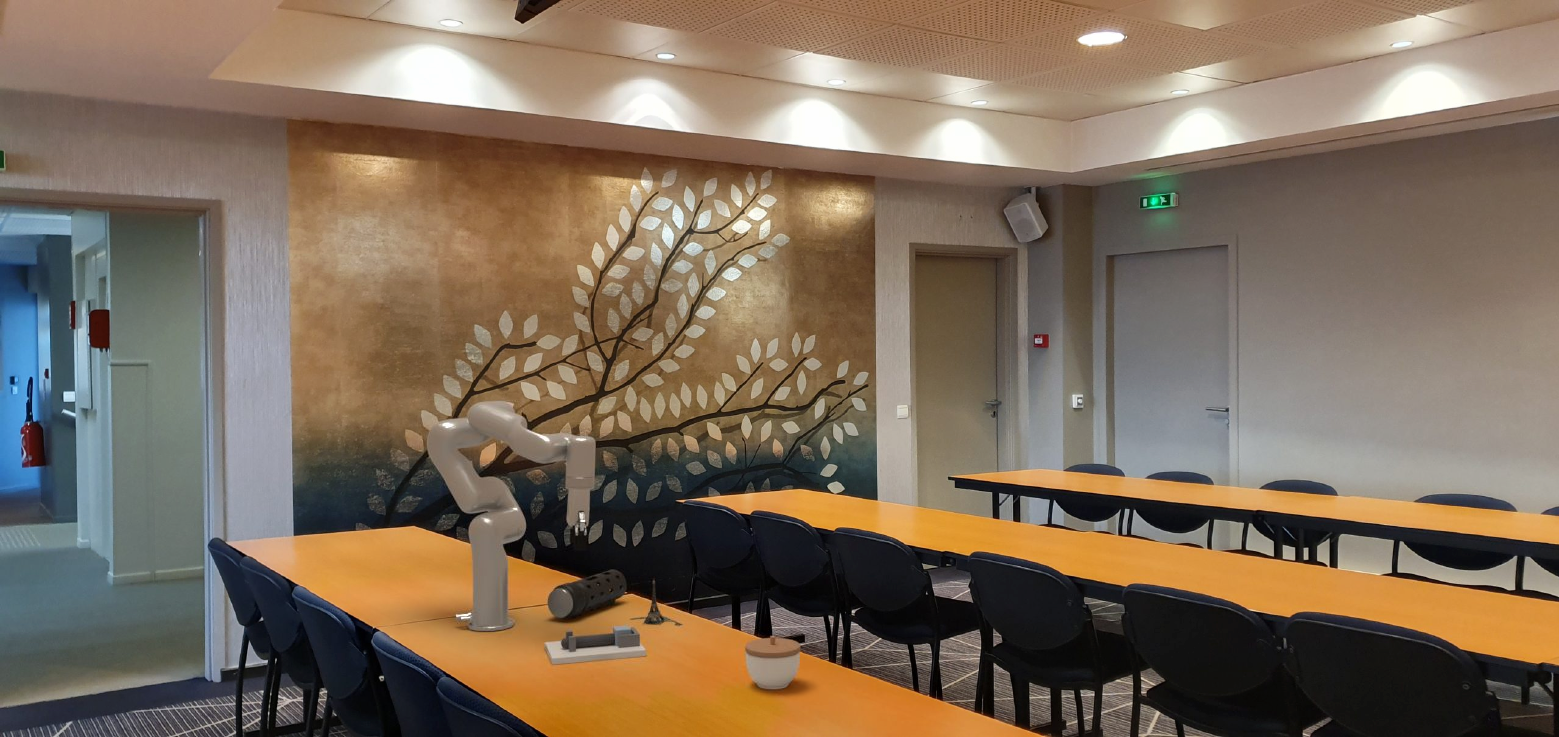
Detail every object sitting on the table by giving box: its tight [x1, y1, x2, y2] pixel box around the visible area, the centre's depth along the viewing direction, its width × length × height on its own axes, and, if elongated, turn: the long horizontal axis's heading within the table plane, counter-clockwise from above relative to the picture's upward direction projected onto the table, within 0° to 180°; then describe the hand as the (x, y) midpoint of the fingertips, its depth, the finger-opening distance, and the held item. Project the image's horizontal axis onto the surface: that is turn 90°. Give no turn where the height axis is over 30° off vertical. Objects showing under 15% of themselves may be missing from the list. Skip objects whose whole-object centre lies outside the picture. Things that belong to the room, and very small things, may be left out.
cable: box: [560, 625, 631, 649], centre depth 279 cm, size 17×4×4 cm, turn 108°
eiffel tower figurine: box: [629, 579, 684, 627], centre depth 309 cm, size 15×10×13 cm
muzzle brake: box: [547, 569, 628, 619], centre depth 322 cm, size 10×28×10 cm, turn 155°
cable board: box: [544, 626, 647, 666], centre depth 278 cm, size 23×16×5 cm
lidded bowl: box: [744, 635, 801, 691], centre depth 250 cm, size 13×13×11 cm
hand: (577, 546), depth 293 cm, fingers open, 9 cm apart
